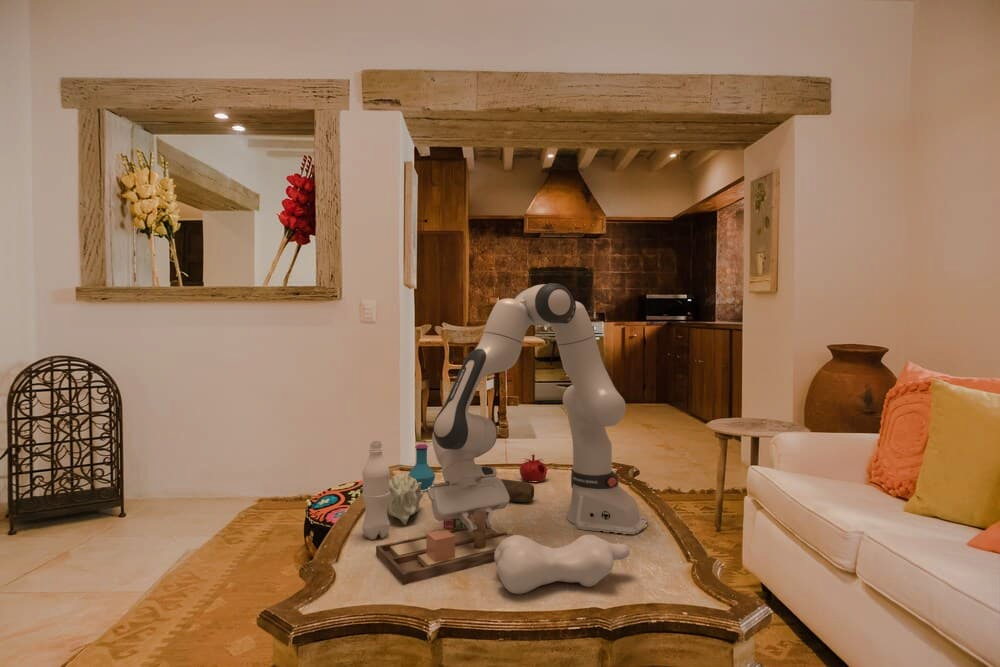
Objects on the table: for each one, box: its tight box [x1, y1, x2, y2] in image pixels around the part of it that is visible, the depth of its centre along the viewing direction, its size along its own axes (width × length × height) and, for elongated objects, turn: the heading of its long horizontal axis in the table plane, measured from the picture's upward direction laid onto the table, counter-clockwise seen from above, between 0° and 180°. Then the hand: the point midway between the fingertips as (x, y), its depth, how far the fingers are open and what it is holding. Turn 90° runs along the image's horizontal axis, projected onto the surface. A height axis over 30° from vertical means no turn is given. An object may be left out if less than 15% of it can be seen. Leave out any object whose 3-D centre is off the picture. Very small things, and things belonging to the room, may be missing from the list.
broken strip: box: [390, 529, 494, 557], centre depth 139 cm, size 26×6×1 cm, turn 121°
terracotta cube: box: [425, 528, 455, 562], centre depth 129 cm, size 5×5×5 cm
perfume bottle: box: [407, 443, 436, 490], centre depth 189 cm, size 9×9×15 cm
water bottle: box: [361, 440, 391, 540], centre depth 147 cm, size 7×7×25 cm
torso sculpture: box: [494, 534, 630, 595], centre depth 122 cm, size 16×11×30 cm
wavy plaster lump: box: [387, 474, 424, 526], centre depth 161 cm, size 18×13×16 cm
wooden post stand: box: [418, 508, 514, 567], centre depth 133 cm, size 26×6×10 cm, turn 121°
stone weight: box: [500, 478, 535, 503], centre depth 177 cm, size 15×7×7 cm, turn 79°
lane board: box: [375, 527, 508, 585], centre depth 135 cm, size 32×18×2 cm, turn 121°
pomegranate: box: [519, 454, 548, 482], centre depth 200 cm, size 10×10×9 cm
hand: (481, 529), depth 134 cm, fingers closed on wooden post stand, 3 cm apart
